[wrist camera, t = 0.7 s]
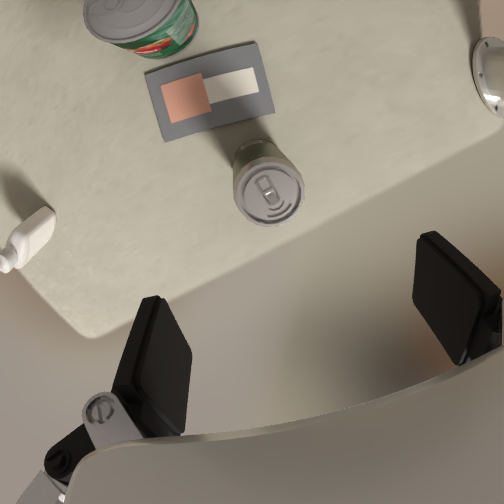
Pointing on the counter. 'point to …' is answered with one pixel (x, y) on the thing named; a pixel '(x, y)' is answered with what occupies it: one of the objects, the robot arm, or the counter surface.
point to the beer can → (266, 184)
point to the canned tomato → (143, 25)
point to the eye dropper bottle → (27, 239)
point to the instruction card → (210, 91)
